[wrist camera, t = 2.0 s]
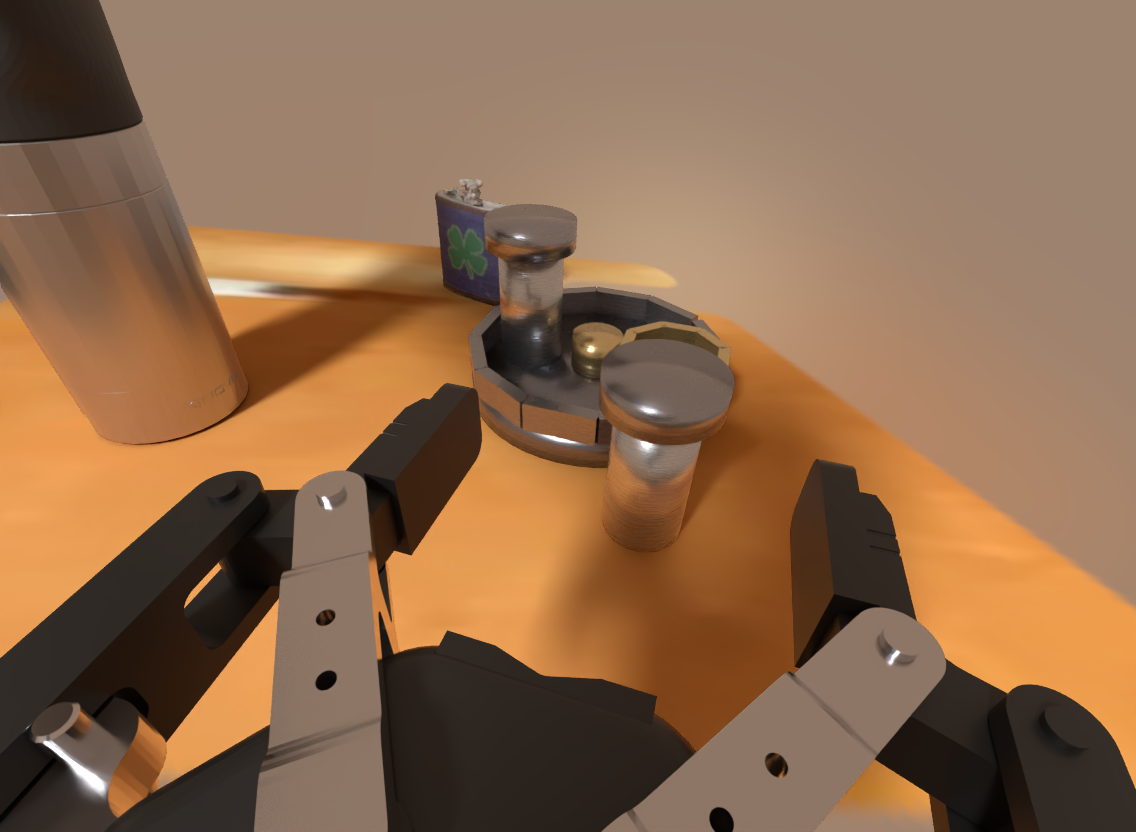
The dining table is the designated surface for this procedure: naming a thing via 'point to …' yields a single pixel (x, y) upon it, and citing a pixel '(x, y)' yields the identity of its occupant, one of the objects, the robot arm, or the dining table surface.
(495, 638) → the dining table surface
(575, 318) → the carrier
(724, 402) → the silver capped cylinder
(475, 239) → the flask
